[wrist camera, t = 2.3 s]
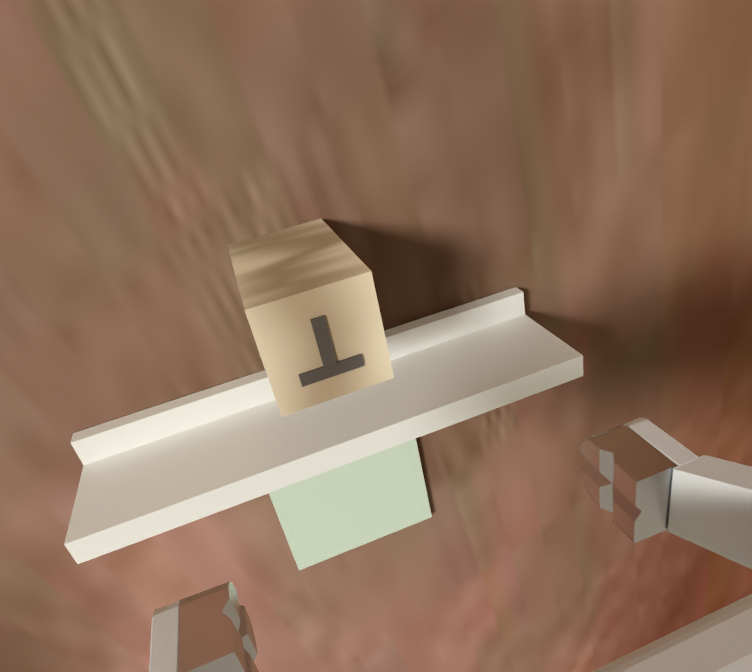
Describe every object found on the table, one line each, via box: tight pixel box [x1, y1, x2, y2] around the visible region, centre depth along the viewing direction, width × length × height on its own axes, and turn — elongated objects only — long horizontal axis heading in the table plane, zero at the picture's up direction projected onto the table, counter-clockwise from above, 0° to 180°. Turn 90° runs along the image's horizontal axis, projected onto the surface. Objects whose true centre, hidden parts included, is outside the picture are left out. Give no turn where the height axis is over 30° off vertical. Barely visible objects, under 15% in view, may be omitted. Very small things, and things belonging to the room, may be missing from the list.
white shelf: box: [64, 287, 583, 564], centre depth 27 cm, size 24×4×6 cm, turn 101°
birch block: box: [227, 219, 394, 417], centre depth 23 cm, size 4×4×8 cm
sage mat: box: [269, 438, 432, 570], centre depth 33 cm, size 9×9×1 cm
